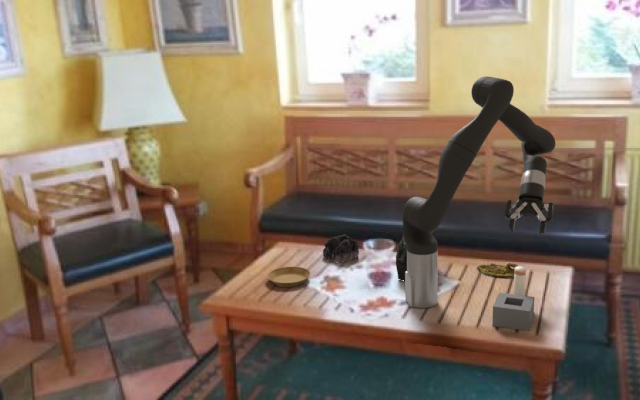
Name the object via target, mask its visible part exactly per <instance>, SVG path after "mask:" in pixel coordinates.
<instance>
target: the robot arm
mask: <svg viewBox="0 0 640 400" xmlns="http://www.w3.org/2000/svg"><path fill="white" fill-rule="evenodd" d="M514 92H515V89H514V84H513V83H512V82H511V81H510V80H508V79H504V78H500V77H493V76H480V77H478V78H477V79H476V80H475V81H474V83H473V85H472V87H471V98H472V100H473V102H474V103H475V104H476V105H478V106H479V107H480V108H481V110H480V111H479V113H478V114H477V115H476V117H475V118H473V119H472V120H471V121H470V122H469V123H467V124H465V126H463V127H461V128H460V129H459V130H458V131H456V132H455V133H454V134H453V135H452V136H451V137H450V139H449V141H448V142H447V143H446V145H445V147H444V149H443V151H442V152H441V155H440V157H439V161H438V167H437V168H438V169H437V179H436V182H435V185H434V188H433V189H432V190H431V193H430V195H428V196H429V197H428V198H424V197H421V196H413V197H411V198H409V199H408V200H407V201H406V203H404V207H403V211H402V227H403V228H402V230H403V235H404V240H405V243H406V245H407V271H406V272H405V282H404V283H405V284H404V285H405V288H404V289H405V301H406V303H407V304H408V305H409V306H410V307H411V308H419V309H423V308H424V309H428V308H433V307H434V306H436V305H437V304H438V299H439V297H438V296H439V295H438V293H439V292H438V284H439V283H438V274H439V273H438V268H439V267H438V262H439V260H438V255H439V254H438V253H439V251H438V241H437V239H436V238H434V237H433V235H432V234H431V232H432V231H434V230H435V229H436V228H438V227H439V226H440V225H441V223H442V222H443V219H444V218H445V216H446V215H447V212H448V210H449V207H450V205H451V203H452V200H453V198H454V195H455V193H456V192H457V190H458V188H459V186H460V184H461V182H462V180H463V179H464V177H465V175H466V174H467V172H468V171H469V169H470V167H471V166H472V164H473V162H474V161H475V159H476V157H477V155H478V153H479V151H480V150H481V148H482V146H483V145H484V143H485V142H486V140H487V138H488V136H489V135H490V133H491V131H492V130H493V128H494V127H495V125H496V124H497V122H498V121H499V122H501V123H502V124H503V125H504V126H505V128H507V129H508V130H509V131H510V132H511V133H512V135H514V136H515V137H516V138H517V139H518V141H520V142H521V143H520V144H521V145H520V146H521V150H522V155H523V172H522V176H521V178H520V179H521V180H520V184H519V185H520V187H519V192H518V194H519V195H518V199H517V201H512V200H511V199H508V200H507V202H506V206H505V212H504V217H505V220H506V221H509V226H508V229H509V231H511V232H510V233H515V226H516V221H517V220H518V219H520V218H521V217H522V216H523V217H530V218H531V217H532V218H534V217H537V219H538V220H539V221H540V224H539V225H540V226H539V235H541V236H542V235H543V234H545V233H546V226H547V224H552V223H553V220H554V204H553V202H549V203H544V200H545V199H544V198H545V191H546V174H547V166H548V162H547V160H546V159H545V158H544V157H542V156H540V155H545V154H549V153H552V152H553V151H554V150H555V148H556V139H555V137H554V135H553V134H552V133H551V132H550V131H549V130H548V129H545V128H544V127H542V126H540V125H539V124H536V123H535V122H534V121H533V119H531V118H530V116H528V114H527V113H525V112H524V111H522V110H521V109H520V108H518V107H516V106H515V105H513V104H512V103H511V102H512V100H513V96H514ZM515 207H516V210H515V211H514V212H513V213H512V210H513V209H515ZM544 209H545V210H546V212H548V213H547V214H548V216H547V217H545V215H544V214H543V212H542V211H543V210H544ZM511 213H512V214H511Z"/></svg>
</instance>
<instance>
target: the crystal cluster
mask: <svg viewBox="0 0 640 400" xmlns="http://www.w3.org/2000/svg"><path fill="white" fill-rule="evenodd" d="M359 250H360V249H359V242H357V241H356V240H353V238H351V237H350V236H348V235H347V234H345V233H344V234H342V235H337V236H334V237H331V238H330V239H328V240H326V241H325V243H324V248H323V249H322V255H323V258H324V259H326V260H327V261H330V262H334V263H340V264H341V263H344V262H345V263H346V262H349V261H352V260H354V259H356V258H358V256H359V255H360V251H359Z"/></svg>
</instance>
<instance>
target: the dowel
mask: <svg viewBox="0 0 640 400" xmlns="http://www.w3.org/2000/svg"><path fill="white" fill-rule="evenodd" d="M513 269H514V268H513ZM526 274H527V268H526V267H524V266H521V265H518V266H517V267H515V269H514V278H513V294H515V295H523V296H526Z"/></svg>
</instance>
